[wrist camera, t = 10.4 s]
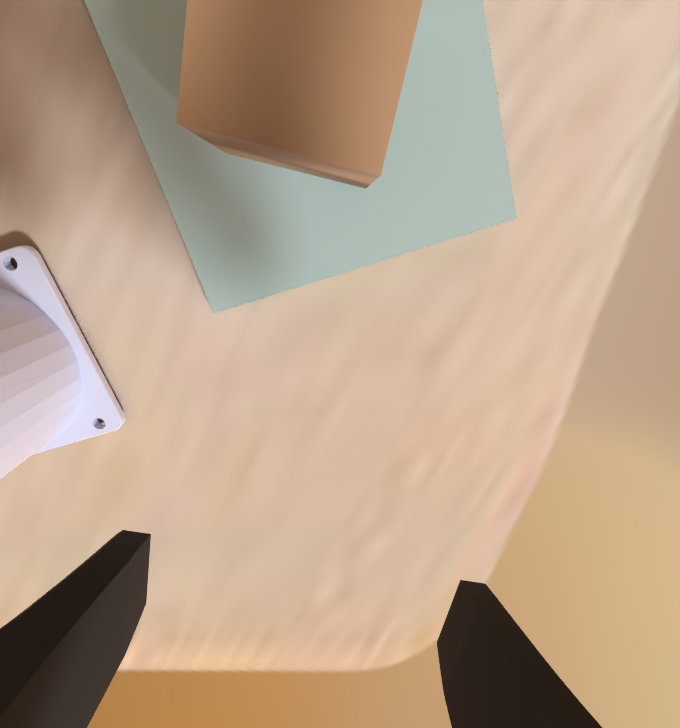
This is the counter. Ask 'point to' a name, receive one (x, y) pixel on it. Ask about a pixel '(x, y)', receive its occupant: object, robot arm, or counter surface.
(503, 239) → the counter surface
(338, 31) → the walnut cube
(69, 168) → the counter surface
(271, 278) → the ceramic tile
